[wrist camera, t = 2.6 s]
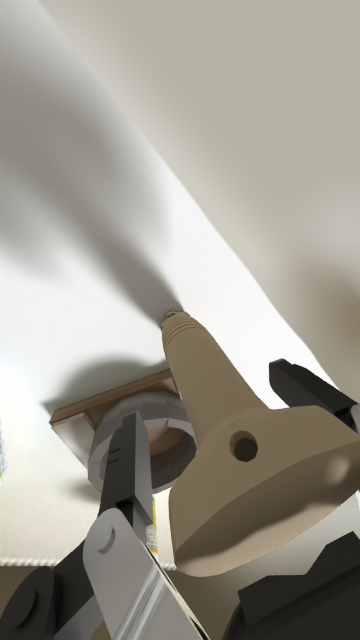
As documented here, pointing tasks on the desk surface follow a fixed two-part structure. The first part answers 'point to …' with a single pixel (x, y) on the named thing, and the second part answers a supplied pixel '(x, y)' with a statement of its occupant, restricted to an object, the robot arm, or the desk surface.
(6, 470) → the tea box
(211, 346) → the handle
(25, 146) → the desk surface
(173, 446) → the ring socket base
